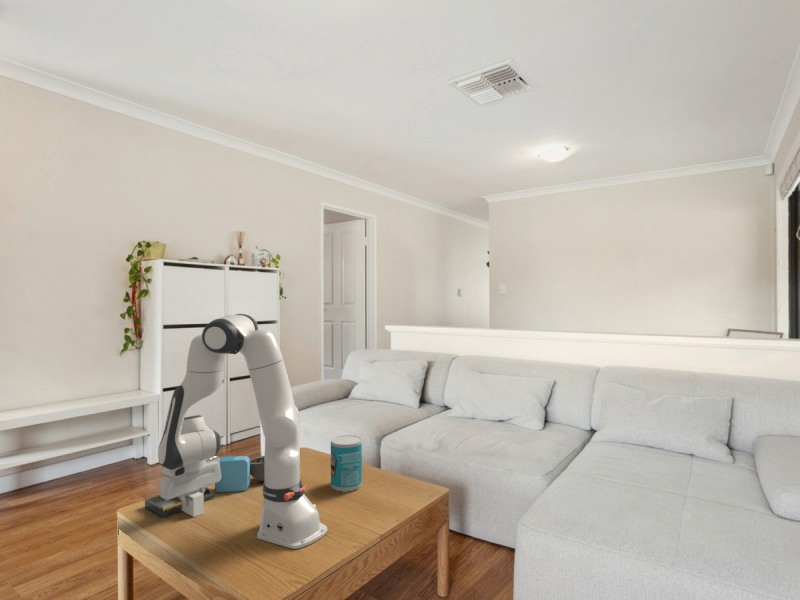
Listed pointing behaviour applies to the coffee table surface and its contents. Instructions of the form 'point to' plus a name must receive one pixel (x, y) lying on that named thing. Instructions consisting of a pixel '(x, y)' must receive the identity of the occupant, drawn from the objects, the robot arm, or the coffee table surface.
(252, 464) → the planter
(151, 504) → the rack
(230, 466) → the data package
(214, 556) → the coffee table surface
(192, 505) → the beige rectangular block
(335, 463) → the food can
